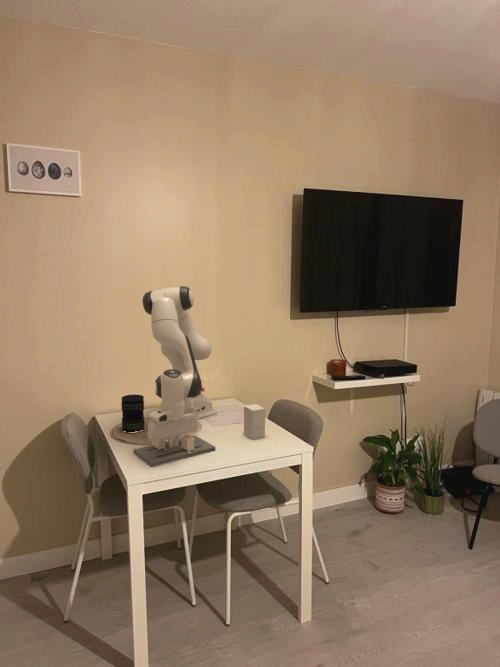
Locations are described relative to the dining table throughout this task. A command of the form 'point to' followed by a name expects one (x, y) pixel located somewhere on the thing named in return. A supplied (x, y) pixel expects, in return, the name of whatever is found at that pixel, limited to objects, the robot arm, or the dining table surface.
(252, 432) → the small box
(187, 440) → the fader
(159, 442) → the fader
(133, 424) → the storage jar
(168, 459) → the console
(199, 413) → the robot arm
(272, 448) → the dining table surface
